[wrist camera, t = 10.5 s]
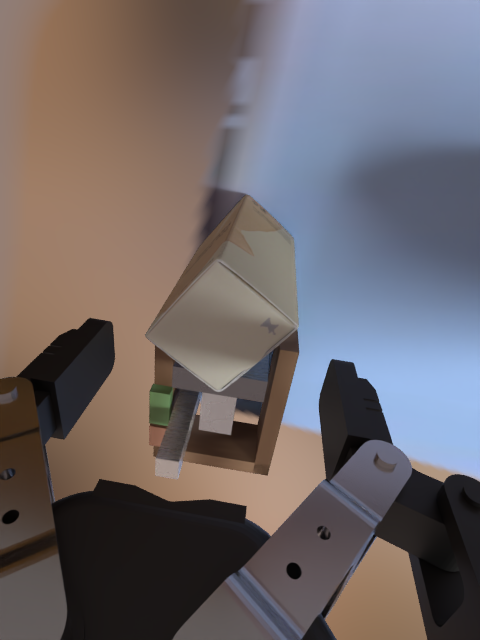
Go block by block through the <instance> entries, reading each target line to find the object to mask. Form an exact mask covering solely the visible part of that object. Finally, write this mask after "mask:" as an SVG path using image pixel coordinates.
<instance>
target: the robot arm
mask: <svg viewBox="0 0 480 640" xmlns="http://www.w3.org/2000/svg"><path fill="white" fill-rule="evenodd" d="M114 360H115V351H114V334H113V325H112V322H110V321H105V320H99V319H92V318H89V319H88V320H87V321H86V322H85V323H84V324H83V325H82V326H81V327H80V328H79V329H78V330H76V329H72V330H70V331H67V332H66V333H63V334H61V335H59V336H58V337H57V338H56V339H55V340H54V341H53V342H52V343H51V344H50V346H48V347H47V348H46V349H45V350H44V351H43V353H41V354H40V355H39V356H38V357H36V359H34V360H33V361H32V362H31V363H30V364H29V365H28V366H27V367H26V368H25V369H24V370H23V371H22V372H21V373H20V374H19V375H18V376H17V377H7V378H2V379H0V640H336V638H335V636H334V635H333V633H332V631H331V630H330V628H329V626H328V625H327V623H326V621H325V619H326V617H327V616H328V614H329V613H330V611H331V609H332V608H333V606H334V605H335V603H336V601H337V600H338V598H339V596H340V594H341V593H342V591H343V590H344V588H345V586H346V585H347V583H348V581H349V580H350V578H351V577H352V575H353V573H354V572H355V570H356V569H357V567H358V565H359V564H360V562H361V561H362V559H363V558H364V556H365V554H366V553H367V551H368V550H369V548H370V547H371V545H372V543H373V542H374V540H375V539H376V537H379V538H381V539H383V540H385V541H387V542H389V543H391V544H393V545H395V546H397V547H399V548H401V549H403V550H405V551H407V552H408V553H409V558H410V562H411V567H412V571H413V576H414V580H415V585H416V590H417V594H418V599H419V603H420V608H421V612H422V617H423V622H424V626H425V631H426V635H427V640H480V482H479V481H477V480H475V479H473V478H471V477H468V476H465V475H459V474H455V475H451V476H449V477H448V478H447V479H446V480H445V482H444V483H443V482H441V481H438V480H436V479H434V478H431V477H429V476H427V475H425V474H422V473H420V472H418V471H416V470H415V469H413V468H412V466H411V463H410V461H409V459H408V458H407V456H406V455H405V454H404V453H403V452H402V451H401V450H400V449H399V448H397V447H396V446H394V445H393V443H392V440H391V436H390V433H389V430H388V427H387V424H386V421H385V418H384V415H383V412H382V408H381V405H380V403H379V399H378V396H377V393H376V390H375V389H374V387H373V386H372V385H371V384H370V383H369V382H368V380H367V379H363V378H358V377H357V373H356V369H355V365H354V363H352V362H346V361H340V360H334V359H332V360H331V361H330V364H329V367H328V370H327V373H326V377H325V380H324V383H323V387H322V390H321V393H320V399H319V415H320V424H321V434H322V443H323V452H324V462H325V471H326V479H325V480H323V481H322V482H321V483H320V484H319V485H318V486H317V487H316V488H315V489H314V490H313V492H312V493H311V494H310V495H309V496H308V497H307V498H306V499H305V500H304V501H303V502H302V504H301V505H300V506H299V507H298V508H297V509H296V510H295V511H294V512H293V513H292V514H291V516H290V517H289V518H288V519H287V520H286V521H285V522H284V523H283V524H282V525H281V526H280V527H279V528H278V530H277V531H276V532H275V533H274V534H273V535H272V536H270V535H269V534H268V533H267V532H266V531H265V530H263V529H262V528H261V527H260V526H258V525H256V524H255V523H253V522H252V521H249V520H248V519H246V518H245V517H246V506H242V505H237V504H232V503H227V502H221V501H216V500H210V499H209V500H193V501H177V502H170V501H167V500H165V499H162V498H160V497H158V496H156V495H154V494H152V493H150V492H147V491H146V490H143V489H141V488H139V487H137V486H135V485H129V484H124V483H118V482H113V481H107V480H102V479H99V481H98V483H97V485H96V487H95V489H94V491H88V492H82V493H77V494H74V495H70V496H68V497H65V498H62V499H60V500H58V501H56V502H55V498H54V493H53V487H52V481H51V475H50V470H49V464H48V458H47V452H46V447H45V444H46V443H47V441H48V440H49V439H50V437H53V438H58V439H65V438H66V436H67V435H68V433H69V432H70V431H71V429H72V428H73V426H74V425H75V423H76V422H77V420H78V419H79V418H80V416H81V415H82V413H83V412H84V410H85V409H86V407H87V406H88V404H89V403H90V402H91V400H92V399H93V397H94V396H95V394H96V393H97V391H98V390H99V389H100V387H101V386H102V384H103V383H104V381H105V380H106V378H107V377H108V376H109V374H110V373H111V371H112V368H113V365H114Z"/></svg>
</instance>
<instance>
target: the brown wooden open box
mask: <svg viewBox="0 0 480 640" xmlns="http://www.w3.org/2000/svg"><path fill="white" fill-rule="evenodd" d="M298 355H299V344H298V332H297V330H296V331H295V332H293V333H292V334H291V335H290V336H289V337H288V338H287V339H285V340H284V341H283V342H282V343H281V344H279V345H278V346H277V347H276V348H275V349H274V351H273V355H272V360H271V365H270V369H269V374H268V384H267V388H266V393H265V398H264V402H262V407H261V411H260V416H259V421H258V425H254V424H249V423H242V422H236V421H233V425H232V431H231V435H227V434H221V433H216V432H210V431H204V430H199V421H200V415H196V416H195V420H194V423H193V427H192V430H191V434H190V438H189V441H188V445H187V448H186V452H185V455H184V459H183V461H185V462H190V463H196V464H202V465H209V466H214V467H220V468H226V469H232V470H238V471H244V472H250V473H255V474H261V475H268V471H269V467H270V464H271V460H272V456H273V452H274V448H275V444H276V440H277V437H278V433H279V429H280V425H281V421H282V417H283V413H284V410H285V406H286V402H287V398H288V394H289V390H290V386H291V382H292V379H293V375H294V371H295V367H296V363H297V359H298ZM174 363H175V360H174V359H172V358H171V357H170V356H169V355H167V354H166V353H165V352H164V351H162V350H161V349H160V348H158V347H157V346H156V345H155V384H153V385H152V388H151V390H150V415H149V417H150V418H149V419H150V420H149V423H151V424H150V426H149V445H152V446H154V456H155V457H156V456H157V453H158V450H159V448H160V445H161V442H162V439H163V437H164V434H165V431H166V428H167V426H168V423H169V420H170V417H171V414H172V412H173V409H174V406H175V403H176V401H177V398H178V395H179V392H180V390H181V389H179V388H173V387H172V374H173V365H174Z"/></svg>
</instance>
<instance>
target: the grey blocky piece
mask: <svg viewBox="0 0 480 640" xmlns="http://www.w3.org/2000/svg"><path fill="white" fill-rule="evenodd" d="M268 368H269V354H268V355H266V356H265V357H264V358H263V359H262V360H260V361H259V362H258V363H257V364H256V365H254V366H253V367H252V368H251V369H249V370H248V371H247V372H246V373H245V374H243V375H242V376H241V377H240V378H238V379H237V380H236V381H234V382H233V383H232V384H231V385H229V386H228V387H227V388H226V389H224V390H223V391H221V392H216V391H214V390H213V389H212V388H210V387H209V386H208V385H206V384H205V383H204V382H202V381H201V380H200V379H198V378H197V377H196V376H194V375H193V374H192V373H191V372H189V371H188V370H187V369H185V368H184V367H183V366H181V365H180V364H179V363H178V362H176V361H175V363H174V365H173V374H172V387H173V388H179V389H181V390H180V392H179V395H178V398H177V401H176V403H175V406H174V409H173V412H172V414H171V417H170V420H169V423H168V426H167V428H166V431H165V434H164V437H163V439H162V442H161V445H160V448H159V450H158V453H157V456H156V469H155V471H156V472H155V475H156V476H161V477H167V478H173V479H178V477H179V473H180V469H181V466H182V463H183V459H184V455H185V452H186V448H187V445H188V441H189V438H190V434H191V430H192V427H193V423H194V420H195V416H196V412H197V409H198V406H199V402H200V398H201V395H202V401H201V411H200V421H199V430H204V431H210V432H216V433H221V434H227V435H231V431H232V425H233V418H234V412H235V406H236V400H237V398H239V399H245V400H251V401H257V402H264V398H265V393H266V388H267V384H268Z"/></svg>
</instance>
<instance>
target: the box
mask: <svg viewBox="0 0 480 640" xmlns="http://www.w3.org/2000/svg"><path fill="white" fill-rule="evenodd" d="M298 327H299V322H298V305H297V286H296V268H295V248H294V238H293V237H292V236H291V235H290V234H289V233H288V232H287V231H286V230H285V229H284V228H283V226H282V225H281V224H280V223H278V222H277V221H276V219H274V218H273V217H272V216H271V215H270V214H269V213H268V212H267V211H266V210H265V209H264V208H263V207H262V206H261V205H260V204H259V203H257V202H256V201H255V200H254V199H253V198H252V197H251V196H249V195H245V196H244V197H243V198H242V199H241V200H240V201H239V202H238V203H237V205H236V206H235V207H234V208H233V209H232V210H231V211H230V212H229V213H228V215H227V216H226V217H225V218H224V219H223V220H222V221H221V222H220V223H219V225H218V226H217V227H216V228H215V229H214V230H213V231H212V233H211V234H210V235H209V236H208V237H207V238H206V240H205V241H204V242H203V243H202V244H201V245H200V247H199V248H198V250H197V251H196V253H195V254H194V256H193V258H192V259H191V261H190V263H189V264H188V266H187V267H186V269H185V270H184V272H183V274H182V276H181V277H180V279H179V281H178V282H177V284H176V286H175V287H174V289H173V290H172V292H171V294H170V295H169V297H168V299H167V300H166V302H165V304H164V305H163V307H162V309H161V310H160V312H159V314H158V315H157V317H156V318H155V320H154V322H153V323H152V325H151V326H150V328H149V329H148V331H147V333H146V334H145V336H146V338H147V339H148V340H150V341H151V342H152V343H153V344H155V345H156V346H157V347H158V348H160V349H161V350H162V351H164V352H165V353H166V354H167V355H169V356H170V357H171V358H172V359H174V360H175V361H176V362H178V363H179V364H180V365H181V366H183V367H184V368H185V369H187V370H188V371H189V372H191V373H192V374H193V375H194V376H196V377H197V378H198V379H200V380H201V381H202V382H204V383H205V384H206V385H208V386H209V387H210V388H212V389H213V390H214V391H216V392H221V391H223V390H224V389H226V388H227V387H228V386H229V385H231V384H232V383H233V382H234V381H236V380H237V379H238V378H240V377H241V376H242V375H243V374H245V373H246V372H247V371H248V370H249V369H251V368H252V367H253V366H254V365H256V364H257V363H258V362H259V361H260V360H262V359H263V358H264V357H265V356H266V355H268V354H269V353H270V352H271V351H272V350H274V349H275V348H276V347H277V346H278V345H279V344H281V343H282V342H283V341H284V340H285V339H287V338H288V337H289V336H290V335H291V334H292V333H293V332H295V331H296V330H297V329H298Z"/></svg>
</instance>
